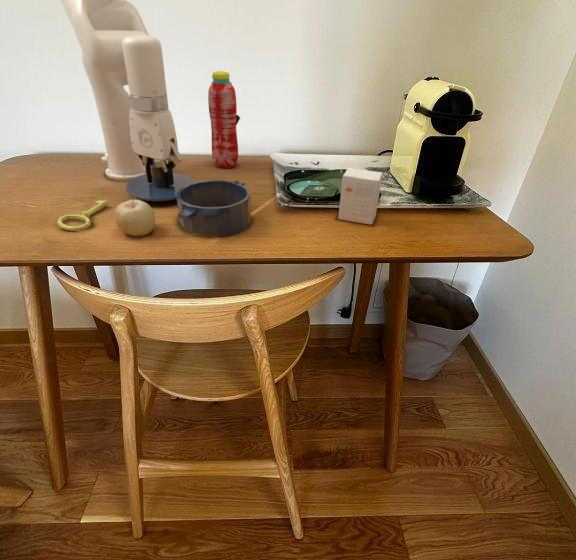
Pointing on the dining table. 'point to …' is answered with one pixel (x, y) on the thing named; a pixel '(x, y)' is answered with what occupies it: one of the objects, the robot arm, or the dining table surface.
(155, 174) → the lid
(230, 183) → the pot
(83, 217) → the key
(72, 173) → the dining table surface
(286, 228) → the dining table surface
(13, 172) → the dining table surface
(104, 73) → the robot arm
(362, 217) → the small box
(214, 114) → the water bottle
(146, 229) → the fruit
